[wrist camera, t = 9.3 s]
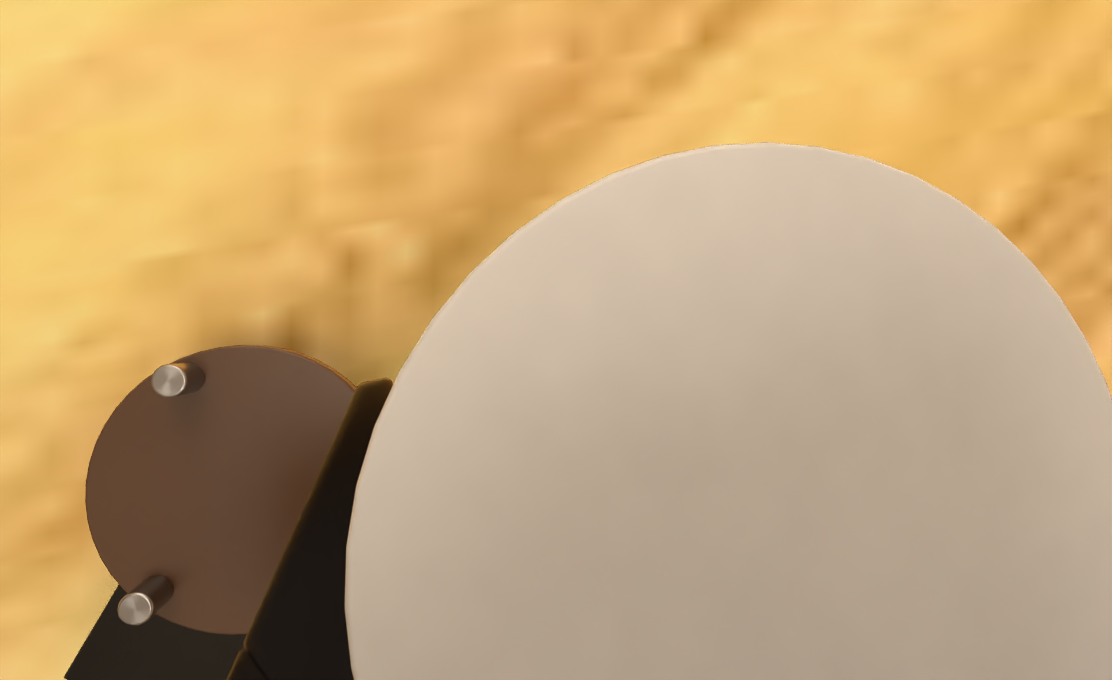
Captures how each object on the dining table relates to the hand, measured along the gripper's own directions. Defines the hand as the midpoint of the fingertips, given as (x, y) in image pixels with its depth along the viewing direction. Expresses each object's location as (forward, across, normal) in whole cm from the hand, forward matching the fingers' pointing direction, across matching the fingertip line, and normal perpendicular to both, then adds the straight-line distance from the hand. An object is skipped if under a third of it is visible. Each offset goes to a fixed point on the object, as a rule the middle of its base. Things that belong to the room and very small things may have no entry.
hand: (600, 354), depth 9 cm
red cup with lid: (+2, 0, +4) cm, 4 cm away
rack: (+5, +7, +13) cm, 16 cm away
